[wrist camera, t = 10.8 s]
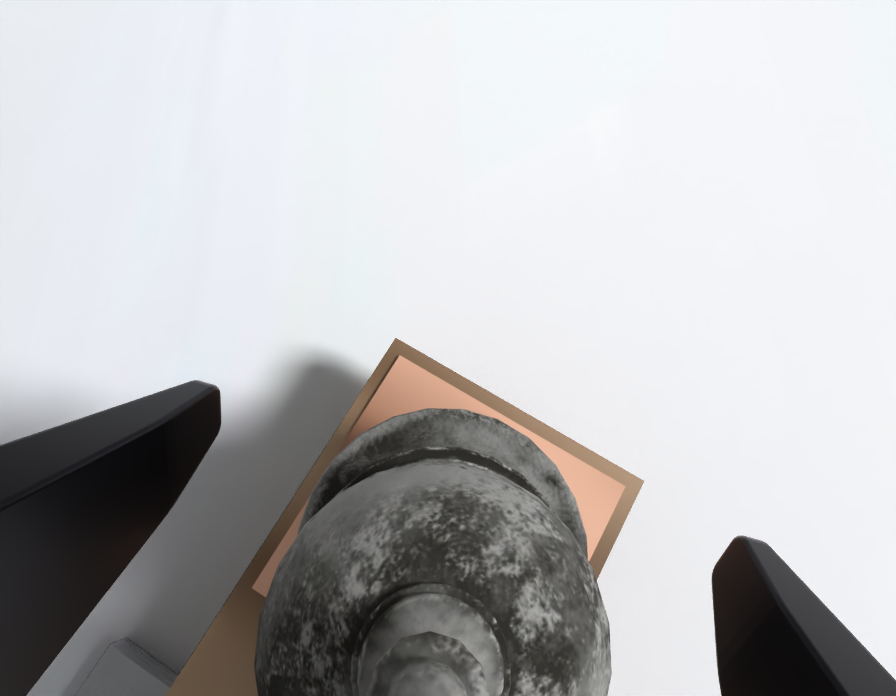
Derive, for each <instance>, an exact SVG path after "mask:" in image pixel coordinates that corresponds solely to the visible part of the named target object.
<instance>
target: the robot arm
mask: <svg viewBox="0 0 896 696" xmlns="http://www.w3.org/2000/svg"><path fill="white" fill-rule="evenodd" d="M220 427H221V400H220V390H219V388H218V387H217V386H215V385H213V384H209V383H206V382H202V381H197V380H194V381H190V382H187V383H184V384H181V385H178V386H175V387H172V388H169V389H166V390H163V391H160V392H157V393H155V394H152V395H149V396H146V397H143V398H140V399H137V400H134V401H131V402H128V403H125V404H122V405H119V406H116V407H113V408H110V409H107V410H104V411H101V412H98V413H95V414H92V415H89V416H86V417H83V418H80V419H77V420H74V421H71V422H68V423H65V424H63V425H60V426H57V427H54V428H51V429H48V430H45V431H42V432H39V433H36V434H33V435H30V436H27V437H24V438H21V439H18V440H15V441H12V442H9V443H6V444H3V445H0V696H26V695H27V694H28V692H29V691H30V690H31V688H32V687H33V686H34V685H35V683H36V682H37V681H38V680H39V678H40V677H41V676H42V674H43V673H44V672H45V671H46V669H47V668H48V667H49V665H50V664H51V663H52V662H53V660H54V659H55V658H56V656H57V655H58V654H59V653H60V651H61V650H62V649H63V647H64V646H65V645H66V644H67V642H68V641H69V640H70V638H71V637H72V636H73V635H74V633H75V632H76V631H77V629H78V628H79V627H80V626H81V624H82V623H83V622H84V620H85V619H86V618H87V617H88V615H89V614H90V613H91V612H92V610H93V609H94V608H95V606H96V605H97V604H98V603H99V601H100V600H101V599H102V597H103V596H104V595H105V594H106V592H107V591H108V590H109V588H110V587H111V586H112V585H113V583H114V582H115V581H116V579H117V578H118V577H119V576H120V574H121V573H122V572H123V570H124V569H125V568H126V567H127V565H128V564H129V563H130V561H131V560H132V559H133V558H134V556H135V555H136V554H137V553H138V551H139V550H140V549H141V547H142V546H143V545H144V544H145V542H146V541H147V540H148V538H149V537H150V536H151V535H152V533H153V532H154V531H155V529H156V528H157V527H158V526H159V524H160V523H161V522H162V520H163V519H164V518H165V516H166V515H167V514H168V512H169V511H170V510H171V508H172V507H173V505H174V504H175V502H176V501H177V499H178V498H179V496H180V495H181V493H182V492H183V490H184V488H185V487H186V485H187V484H188V482H189V480H190V479H191V477H192V475H193V474H194V472H195V471H196V469H197V467H198V466H199V464H200V463H201V461H202V459H203V458H204V456H205V454H206V453H207V451H208V450H209V448H210V446H211V445H212V443H213V442H214V440H215V438H216V437H217V435H218V433H219V430H220ZM712 594H713V609H714V625H715V640H716V656H717V667H718V676H719V683H720V689H721V695H722V696H896V680H895V679H894V678H893V677H892V676H891V675H890V674H889V673H888V672H887V670H886V669H885V668H884V667H883V666H882V665H881V664H880V663H879V662H878V661H877V660H876V659H875V658H874V657H873V656H872V655H871V653H870V652H869V651H868V650H867V649H866V648H865V647H864V646H863V645H862V644H861V643H860V642H859V641H858V640H857V639H856V638H855V636H854V635H853V634H852V633H851V632H850V631H849V630H848V629H847V628H846V627H845V626H844V625H843V624H842V623H841V622H840V620H839V619H838V618H837V617H836V616H835V615H834V614H833V613H832V612H831V611H830V610H829V609H828V608H827V607H826V606H825V605H824V603H823V602H822V601H821V600H820V599H819V598H818V597H817V596H816V595H815V594H814V593H813V592H812V591H811V590H810V589H809V588H808V586H807V585H806V584H805V583H804V582H803V581H802V580H801V579H800V578H799V577H798V576H797V575H796V574H795V573H794V572H793V571H792V569H791V568H790V567H789V566H788V565H787V564H786V563H785V562H784V561H783V560H782V559H781V558H780V557H779V556H778V555H777V554H776V552H775V551H774V550H773V549H772V548H771V547H770V546H769V545H768V544H767V543H765V542H763V541H760V540H757V539H753V538H750V537H746V536H737V537H735V538H734V539H733V540H732V542H731V543H730V545H729V546H728V547H727V549H726V550H725V552H724V553H723V555H722V556H721V558H720V559H719V560H718V562H717V563H716V565H715V567H714V569H713V573H712Z"/></svg>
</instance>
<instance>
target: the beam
mask: <svg viewBox="0 0 896 696" xmlns="http://www.w3.org/2000/svg"><path fill="white" fill-rule="evenodd" d="M426 408H441V409H465V410H468V411H472V412H475V413H479V414H482V415H485V416H489V417H492V418H496V419H499V420H500V421H502V422H504V423H505V424H507V425H509V426H510V427H512V428H514V429H515V430H517V431H519V432H520V433H522V434H524V435H525V436H527V437H529V438H530V439H531V440H532V441H533V442H534V443H535V444H536V445H537V446H538V447H539V448H540V449H541V450H542V451H543V452H544V453H545V454H546V455H547V456H548V457H549V458H550V459H551V460H552V461H553V462H554V464H555V465H556V466H557V468H558V469H559V471H560V473H561V474H562V476H563V478H564V480H565V481H566V483H567V485H568V486H569V488H570V490H571V492H572V493H573V495H574V497H575V498H576V502H577V505H578V508H579V512H580V515H581V519H582V522H583V525H584V529H585V532H586V536H587V552H588V561H589V563H590V565H591V566H592V568H593V571H594V574H595V577H596V581H597V578H598V576H599V574H600V572H601V570H602V568H603V566H604V564H605V562H606V560H607V558H608V556H609V553H610V551H611V549H612V547H613V545H614V543H615V541H616V539H617V537H618V535H619V533H620V530H621V528H622V526H623V524H624V522H625V520H626V518H627V516H628V514H629V512H630V510H631V508H632V505H633V503H634V501H635V499H636V497H637V495H638V493H639V491H640V489H641V487H642V485H643V483H644V481H643V480H641V479H640V478H638V477H636V476H634V475H633V474H631V473H629V472H628V471H626V470H624V469H622V468H621V467H619V466H617V465H615V464H614V463H612V462H610V461H608V460H607V459H605V458H603V457H602V456H600V455H598V454H596V453H595V452H593V451H591V450H589V449H588V448H586V447H584V446H582V445H581V444H579V443H577V442H575V441H574V440H572V439H570V438H569V437H567V436H565V435H563V434H562V433H560V432H558V431H556V430H555V429H553V428H551V427H549V426H548V425H546V424H544V423H543V422H541V421H539V420H537V419H536V418H534V417H532V416H530V415H529V414H527V413H525V412H523V411H522V410H520V409H518V408H516V407H515V406H513V405H511V404H510V403H508V402H506V401H504V400H503V399H501V398H499V397H497V396H496V395H494V394H492V393H490V392H489V391H487V390H485V389H484V388H482V387H480V386H478V385H477V384H475V383H473V382H471V381H470V380H468V379H466V378H464V377H463V376H461V375H459V374H457V373H456V372H454V371H452V370H451V369H449V368H447V367H445V366H444V365H442V364H440V363H438V362H437V361H435V360H433V359H431V358H430V357H428V356H426V355H425V354H423V353H421V352H419V351H418V350H416V349H414V348H412V347H411V346H409V345H407V344H405V343H404V342H402V341H400V340H398V339H397V338H395V340H394V341H393V343H392V344H391V346H390V347H389V349H388V351H387V352H386V354H385V355H384V357H383V358H382V360H381V361H380V363H379V364H378V366H377V368H376V369H375V371H374V372H373V374H372V375H371V377H370V378H369V380H368V382H367V383H366V385H365V386H364V388H363V389H362V391H361V392H360V394H359V396H358V397H357V399H356V400H355V402H354V403H353V405H352V406H351V408H350V410H349V411H348V413H347V414H346V416H345V417H344V419H343V420H342V422H341V423H340V425H339V427H338V428H337V430H336V431H335V433H334V434H333V436H332V437H331V439H330V441H329V442H328V444H327V445H326V447H325V448H324V450H323V451H322V453H321V455H320V456H319V458H318V459H317V461H316V462H315V464H314V465H313V467H312V468H311V470H310V472H309V473H308V475H307V476H306V478H305V479H304V481H303V482H302V484H301V486H300V487H299V489H298V490H297V492H296V493H295V495H294V496H293V498H292V500H291V501H290V503H289V504H288V506H287V507H286V509H285V510H284V512H283V514H282V515H281V517H280V518H279V520H278V521H277V523H276V524H275V526H274V527H273V529H272V531H271V532H270V534H269V535H268V537H267V538H266V540H265V541H264V543H263V545H262V546H261V548H260V549H259V551H258V552H257V554H256V555H255V557H254V559H253V560H252V562H251V563H250V565H249V566H248V568H247V569H246V571H245V573H244V574H243V576H242V577H241V579H240V580H239V582H238V583H237V585H236V586H235V588H234V590H233V591H232V593H231V594H230V596H229V597H228V599H227V600H226V602H225V604H224V605H223V607H222V608H221V610H220V611H219V613H218V614H217V616H216V618H215V619H214V621H213V622H212V624H211V625H210V627H209V628H208V630H207V632H206V633H205V635H204V636H203V638H202V639H201V641H200V642H199V644H198V645H197V647H196V649H195V650H194V652H193V653H192V655H191V656H190V658H189V659H188V661H187V663H186V664H185V666H184V667H183V669H182V670H181V672H180V673H179V675H178V677H177V678H176V680H175V681H174V683H173V684H172V686H171V687H170V689H169V690H168V692H167V694H166V695H165V696H258V692H257V685H256V677H255V670H254V661H255V652H256V643H257V633H258V624H259V616H260V613H261V610H262V607H263V605H264V602H265V599H266V596H267V594H268V591H269V588H270V585H271V583H272V580H273V577H274V574H275V572H276V569H277V567H278V565H279V563H280V561H281V560H282V558H283V557H284V555H285V554H286V552H287V551H288V549H289V548H290V546H291V545H292V543H293V542H294V540H295V539H296V537H297V535H298V528H299V525H300V523H301V520H302V517H303V514H304V511H305V508H306V505H307V503H308V500H309V497H310V494H311V491H312V490H313V488H314V487H315V485H316V484H317V482H318V481H319V479H320V478H321V476H322V475H323V473H324V472H325V470H326V469H327V467H328V466H329V464H330V462H331V461H332V459H333V458H335V457H336V456H337V455H338V454H339V453H340V452H341V451H342V450H343V449H344V448H345V447H347V446H348V445H349V444H350V443H351V442H352V441H353V440H354V439H355V438H356V437H357V436H358V435H360V434H361V433H363V432H365V431H367V430H368V429H370V428H372V427H374V426H376V425H378V424H380V423H381V422H383V421H385V420H387V419H389V418H391V417H393V416H397V415H401V414H405V413H410V412H414V411H418V410H422V409H426Z"/></svg>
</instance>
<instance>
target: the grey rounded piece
mask: <svg viewBox="0 0 896 696" xmlns="http://www.w3.org/2000/svg"><path fill="white" fill-rule="evenodd" d="M254 670H255V677H256V685H257V692H258V696H607V694H608V689H609V684H610V679H611V653H610V632H609V621H608V618H607V615H606V611H605V608H604V604H603V601H602V598H601V594H600V591H599V588H598V584H597V581H596V577H595V574H594V571H593V568H592V566H591V565H590V563H589V561H588V552H587V536H586V532H585V529H584V525H583V522H582V519H581V515H580V512H579V508H578V505H577V502H576V498H575V497H574V495H573V493H572V492H571V490H570V488H569V486H568V485H567V483H566V481H565V480H564V478H563V476H562V474H561V473H560V471H559V469H558V468H557V466H556V465H555V464H554V462H553V461H552V460H551V459H550V458H549V457H548V456H547V455H546V454H545V453H544V452H543V451H542V450H541V449H540V448H539V447H538V446H537V445H536V444H535V443H534V442H533V441H532V440H531V439H530V438H529V437H527V436H525V435H524V434H522V433H520V432H519V431H517V430H515V429H514V428H512V427H510V426H509V425H507V424H505V423H504V422H502V421H500V420H499V419H496V418H492V417H489V416H485V415H482V414H479V413H475V412H472V411H468V410H465V409H441V408H426V409H422V410H418V411H414V412H410V413H405V414H401V415H397V416H393V417H391V418H389V419H387V420H385V421H383V422H381V423H380V424H378V425H376V426H374V427H372V428H370V429H368V430H367V431H365V432H363V433H361V434H360V435H358V436H357V437H356V438H355V439H354V440H353V441H352V442H351V443H350V444H349V445H348V446H347V447H345V448H344V449H343V450H342V451H341V452H340V453H339V454H338V455H337V456H336V457H335V458H333V459H332V461H331V462H330V464H329V466H328V467H327V469H326V470H325V472H324V473H323V475H322V476H321V478H320V479H319V481H318V482H317V484H316V485H315V487H314V488H313V490H312V491H311V494H310V497H309V500H308V503H307V505H306V508H305V511H304V514H303V517H302V520H301V523H300V525H299V528H298V535H297V537H296V539H295V540H294V542H293V543H292V545H291V546H290V548H289V549H288V551H287V552H286V554H285V555H284V557H283V558H282V560H281V561H280V563H279V565H278V567H277V569H276V572H275V574H274V577H273V580H272V583H271V585H270V588H269V591H268V594H267V596H266V599H265V602H264V605H263V607H262V610H261V613H260V616H259V624H258V633H257V643H256V652H255V661H254Z"/></svg>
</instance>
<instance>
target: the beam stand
mask: <svg viewBox="0 0 896 696" xmlns="http://www.w3.org/2000/svg"><path fill="white" fill-rule="evenodd" d="M177 677H178V675H176V674H175V673H174V672H172V671H171V670H170V669H168V668H167V667H165V666H164V665H163V664H161V663H160V662H158V661H157V660H156V659H154V658H153V657H152V656H150V655H149V654H147V653H146V652H145V651H143V650H142V649H140V648H139V647H138V646H136V645H135V644H134V643H132V642H131V641H129V640H128V639H127V638H123V639H121V640H119V641H116V642H114V643H112V644H110V645H109V646H108V648H107V649H106V651H105V652H104V654H103V655H102V657H101V658H100V660H99V661H98V663H97V664H96V666H95V667H94V669H93V670H92V671H91V673H90V674H89V676H88V677H87V679H86V680H85V682H84V683H83V685H82V686H81V688H80V689H79V691H78V692H77V694H76V695H75V696H165V695H166V694H167V692H168V690H169V689H170V687H171V686H172V684H173V683H174V681H175V680H176V678H177Z"/></svg>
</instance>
